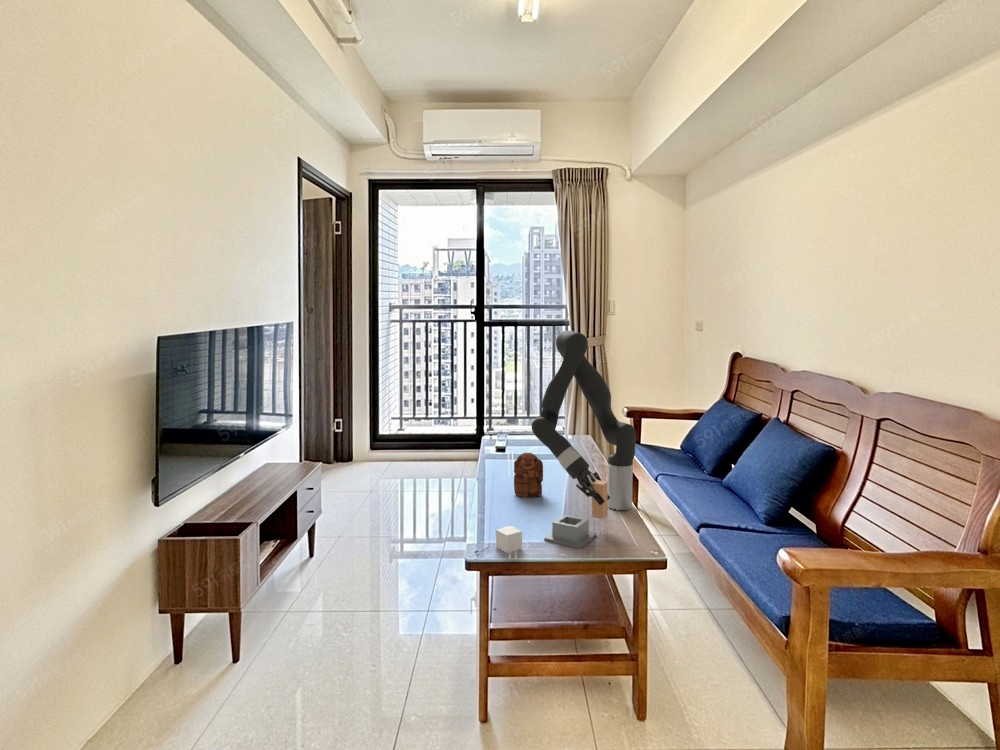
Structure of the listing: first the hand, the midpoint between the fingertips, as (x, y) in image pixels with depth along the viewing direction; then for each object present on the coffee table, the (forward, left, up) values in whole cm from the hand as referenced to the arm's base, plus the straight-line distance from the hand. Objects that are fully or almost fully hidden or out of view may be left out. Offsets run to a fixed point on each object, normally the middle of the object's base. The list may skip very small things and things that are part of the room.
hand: (605, 501), depth 196 cm
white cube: (+12, -34, -11) cm, 37 cm away
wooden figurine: (-42, -23, -11) cm, 49 cm away
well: (+5, -13, -11) cm, 17 cm away
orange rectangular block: (-1, -2, -6) cm, 6 cm away
